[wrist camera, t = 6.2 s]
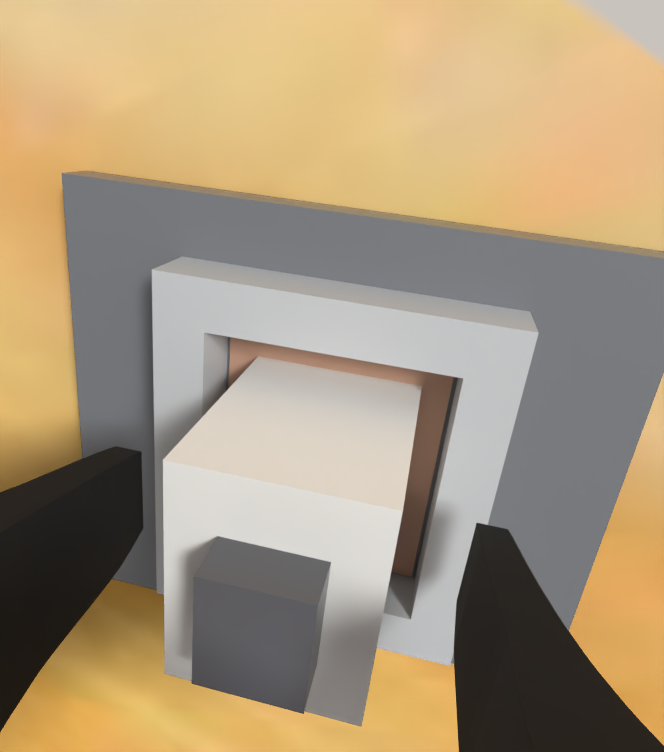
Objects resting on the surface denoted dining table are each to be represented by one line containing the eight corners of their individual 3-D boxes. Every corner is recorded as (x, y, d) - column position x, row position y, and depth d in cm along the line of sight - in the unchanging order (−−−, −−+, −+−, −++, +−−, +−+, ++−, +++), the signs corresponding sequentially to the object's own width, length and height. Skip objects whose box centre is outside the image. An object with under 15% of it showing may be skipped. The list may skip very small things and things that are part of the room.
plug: (390, 554, 16) (352, 779, 10) (247, 522, 16) (139, 719, 11) (421, 386, 14) (396, 552, 8) (258, 356, 14) (131, 493, 9)
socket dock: (543, 657, 17) (556, 736, 15) (108, 552, 19) (61, 608, 17) (685, 254, 12) (736, 280, 10) (86, 170, 14) (16, 177, 12)
